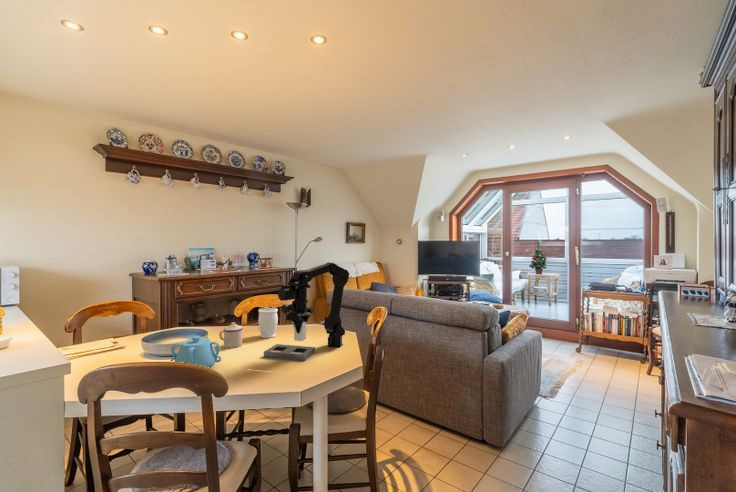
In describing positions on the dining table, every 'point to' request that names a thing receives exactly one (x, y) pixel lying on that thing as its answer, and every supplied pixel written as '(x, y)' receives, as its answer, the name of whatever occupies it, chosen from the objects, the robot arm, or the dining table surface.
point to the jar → (268, 322)
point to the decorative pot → (197, 352)
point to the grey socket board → (289, 352)
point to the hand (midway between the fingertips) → (300, 331)
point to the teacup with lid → (232, 336)
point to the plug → (302, 334)
